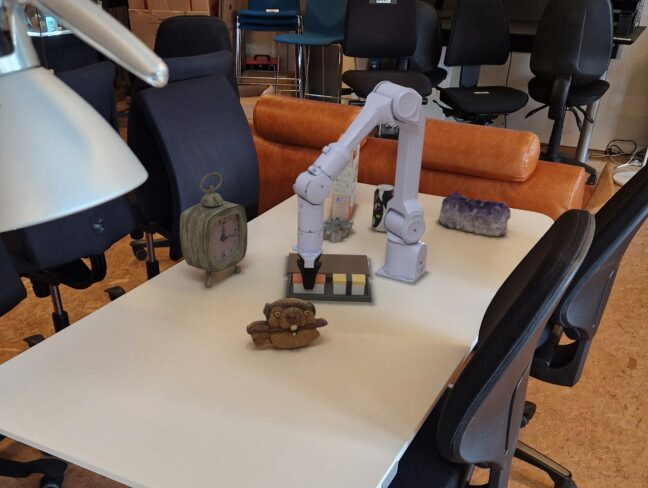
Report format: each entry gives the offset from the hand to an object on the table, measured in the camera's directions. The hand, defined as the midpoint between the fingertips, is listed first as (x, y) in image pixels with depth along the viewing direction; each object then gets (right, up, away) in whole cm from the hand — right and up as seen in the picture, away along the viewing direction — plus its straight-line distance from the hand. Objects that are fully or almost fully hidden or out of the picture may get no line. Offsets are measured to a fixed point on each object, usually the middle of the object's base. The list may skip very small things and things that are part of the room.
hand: (308, 284), depth 167 cm
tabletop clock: (-22, +3, +7) cm, 24 cm away
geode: (+47, +22, +37) cm, 64 cm away
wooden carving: (-5, -16, -21) cm, 27 cm away
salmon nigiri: (0, -1, +1) cm, 1 cm away
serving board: (+5, +6, +13) cm, 15 cm away
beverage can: (+22, +21, +35) cm, 47 cm away
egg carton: (+8, +19, +32) cm, 38 cm away
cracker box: (+12, +29, +48) cm, 57 cm away
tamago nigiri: (+9, -1, 0) cm, 9 cm away
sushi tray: (+5, -2, +1) cm, 5 cm away
